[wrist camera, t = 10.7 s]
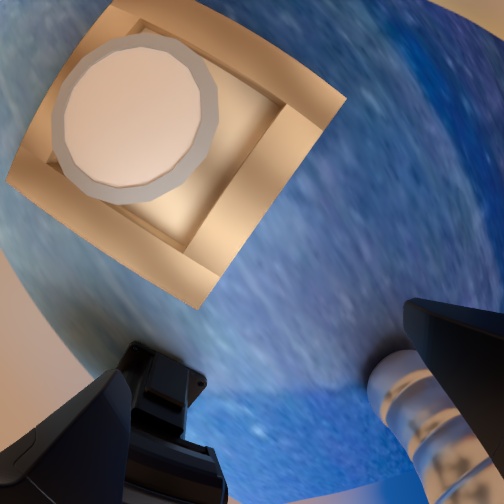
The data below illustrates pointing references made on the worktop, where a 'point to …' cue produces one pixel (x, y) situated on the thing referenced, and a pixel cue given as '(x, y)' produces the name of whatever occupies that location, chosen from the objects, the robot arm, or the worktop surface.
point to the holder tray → (209, 170)
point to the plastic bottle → (432, 432)
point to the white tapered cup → (134, 118)
